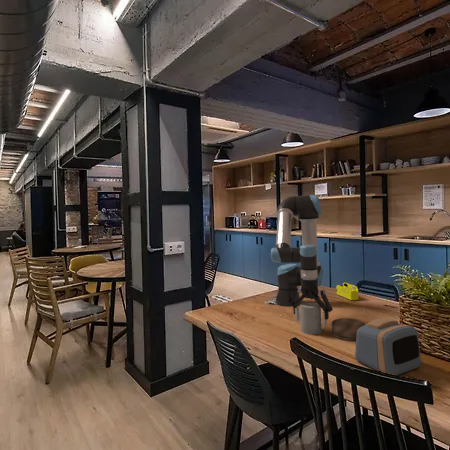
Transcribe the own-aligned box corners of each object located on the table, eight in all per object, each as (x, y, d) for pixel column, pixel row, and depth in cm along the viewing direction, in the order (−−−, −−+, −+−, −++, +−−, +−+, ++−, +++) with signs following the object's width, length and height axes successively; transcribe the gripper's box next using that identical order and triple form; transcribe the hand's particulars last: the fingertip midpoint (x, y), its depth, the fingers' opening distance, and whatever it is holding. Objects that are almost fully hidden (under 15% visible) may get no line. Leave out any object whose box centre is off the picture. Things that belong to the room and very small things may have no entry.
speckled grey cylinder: (319, 326, 158) (318, 301, 157) (323, 334, 148) (322, 307, 148) (299, 327, 159) (298, 302, 158) (302, 334, 149) (301, 307, 149)
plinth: (326, 336, 146) (326, 325, 145) (337, 326, 157) (337, 316, 157) (361, 343, 136) (360, 331, 136) (370, 332, 148) (370, 321, 148)
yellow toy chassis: (359, 300, 199) (358, 286, 198) (350, 301, 197) (350, 287, 197) (344, 294, 214) (343, 281, 214) (336, 295, 213) (335, 282, 212)
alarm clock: (391, 380, 107) (390, 332, 107) (352, 360, 122) (351, 318, 121) (423, 368, 114) (422, 323, 113) (383, 351, 129) (382, 311, 128)
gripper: (281, 277, 157) (283, 321, 158) (332, 282, 142) (334, 330, 143) (288, 274, 163) (290, 317, 164) (338, 279, 148) (340, 325, 148)
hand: (310, 323), depth 153 cm, fingers open, 13 cm apart
